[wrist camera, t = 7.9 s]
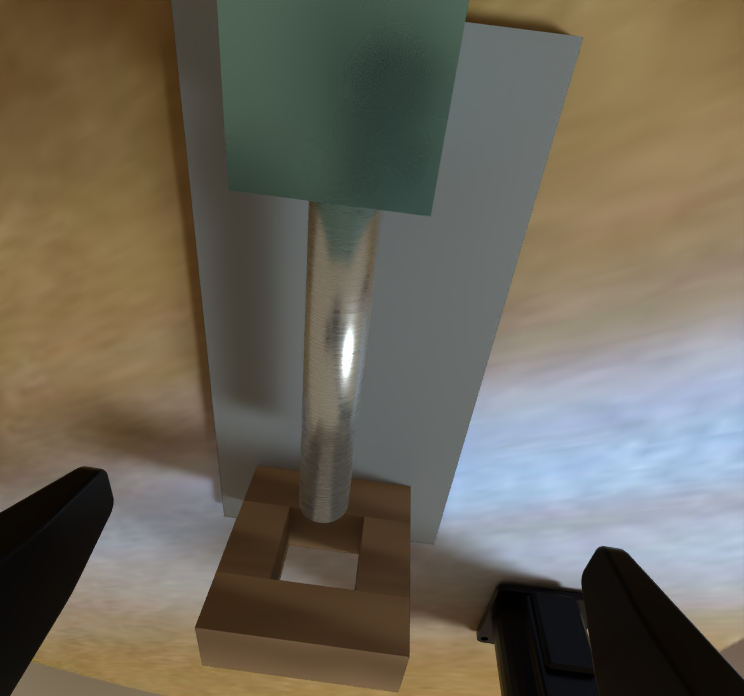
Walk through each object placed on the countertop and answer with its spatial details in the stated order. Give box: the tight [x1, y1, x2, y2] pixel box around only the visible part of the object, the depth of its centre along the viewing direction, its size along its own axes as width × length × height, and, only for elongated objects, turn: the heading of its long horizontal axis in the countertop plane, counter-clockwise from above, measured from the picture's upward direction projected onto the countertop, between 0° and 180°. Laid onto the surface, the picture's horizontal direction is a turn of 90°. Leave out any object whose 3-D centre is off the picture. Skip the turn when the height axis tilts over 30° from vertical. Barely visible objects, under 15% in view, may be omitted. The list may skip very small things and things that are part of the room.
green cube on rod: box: [217, 0, 469, 523], centre depth 14 cm, size 17×4×7 cm, turn 174°
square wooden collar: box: [195, 466, 411, 692], centre depth 21 cm, size 3×8×8 cm, turn 84°
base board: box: [171, 0, 583, 545], centre depth 20 cm, size 24×12×1 cm, turn 174°
